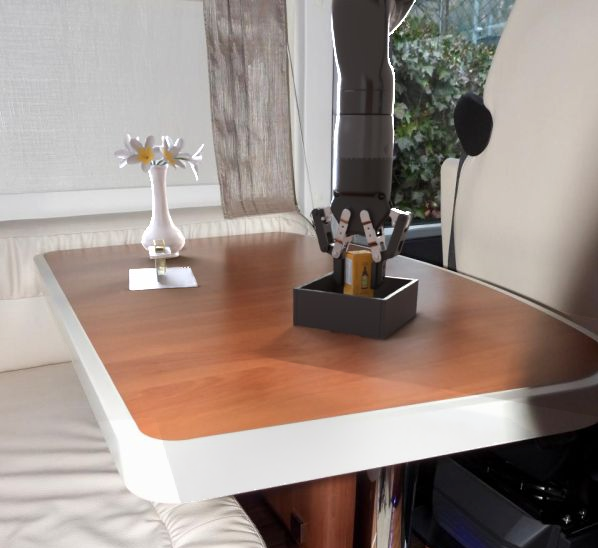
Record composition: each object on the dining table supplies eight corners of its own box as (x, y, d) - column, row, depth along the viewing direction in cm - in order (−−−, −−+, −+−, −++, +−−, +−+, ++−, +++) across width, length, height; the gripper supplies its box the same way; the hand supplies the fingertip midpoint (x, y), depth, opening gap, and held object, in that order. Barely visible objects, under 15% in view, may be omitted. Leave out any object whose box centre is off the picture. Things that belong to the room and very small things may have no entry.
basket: (415, 324, 93) (418, 279, 90) (383, 350, 82) (385, 300, 80) (333, 313, 99) (334, 270, 96) (293, 335, 88) (292, 288, 85)
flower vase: (215, 258, 139) (209, 134, 129) (128, 264, 133) (115, 134, 123) (201, 248, 150) (195, 133, 140) (121, 253, 144) (108, 133, 134)
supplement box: (362, 318, 92) (366, 248, 88) (372, 325, 89) (377, 253, 85) (341, 320, 91) (344, 249, 87) (350, 327, 88) (354, 254, 84)
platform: (189, 266, 131) (187, 234, 128) (198, 286, 115) (195, 249, 112) (129, 269, 128) (126, 236, 126) (129, 290, 112) (125, 252, 110)
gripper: (426, 154, 81) (416, 286, 88) (325, 152, 87) (323, 276, 94) (407, 156, 75) (398, 298, 82) (300, 153, 81) (299, 286, 88)
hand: (358, 285), depth 88 cm, fingers closed on supplement box, 4 cm apart
